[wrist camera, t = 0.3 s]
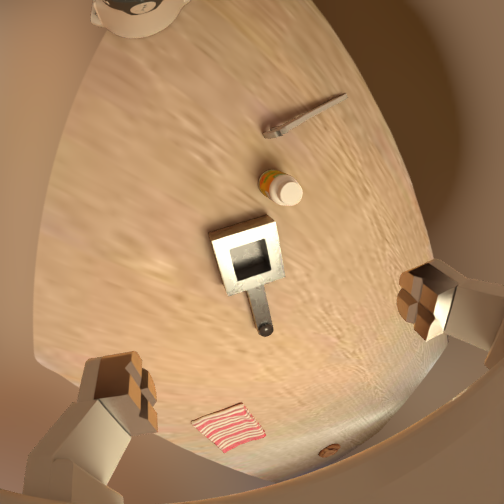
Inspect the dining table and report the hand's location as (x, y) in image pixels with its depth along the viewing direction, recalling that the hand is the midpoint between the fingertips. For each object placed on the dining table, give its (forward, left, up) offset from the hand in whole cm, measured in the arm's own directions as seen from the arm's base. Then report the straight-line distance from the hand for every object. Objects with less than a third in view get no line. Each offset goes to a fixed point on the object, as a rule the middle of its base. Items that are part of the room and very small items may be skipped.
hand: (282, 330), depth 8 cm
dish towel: (+79, -11, -48) cm, 92 cm away
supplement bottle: (+8, +15, -47) cm, 50 cm away
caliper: (-4, +25, -47) cm, 54 cm away
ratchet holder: (+28, +7, -47) cm, 55 cm away
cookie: (+131, +23, -47) cm, 142 cm away
